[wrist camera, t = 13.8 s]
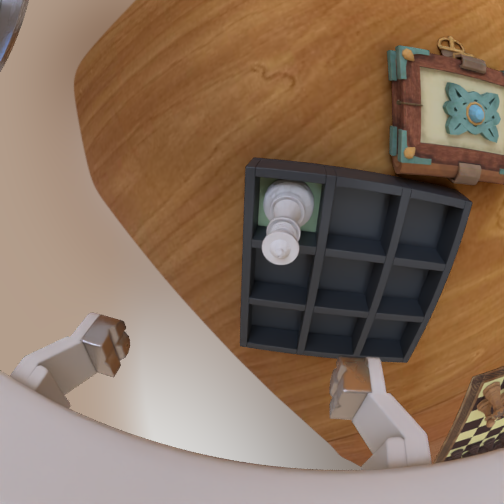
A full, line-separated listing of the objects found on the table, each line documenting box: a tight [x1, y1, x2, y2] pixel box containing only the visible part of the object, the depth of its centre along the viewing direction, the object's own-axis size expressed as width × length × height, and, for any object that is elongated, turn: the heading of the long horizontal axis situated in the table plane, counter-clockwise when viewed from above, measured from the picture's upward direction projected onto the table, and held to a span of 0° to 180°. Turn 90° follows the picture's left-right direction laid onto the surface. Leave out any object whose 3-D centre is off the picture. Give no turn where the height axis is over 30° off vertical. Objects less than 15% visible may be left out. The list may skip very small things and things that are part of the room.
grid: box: [240, 158, 472, 363], centre depth 28 cm, size 20×20×4 cm
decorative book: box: [387, 36, 504, 185], centre depth 18 cm, size 13×18×5 cm
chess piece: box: [262, 179, 314, 265], centre depth 23 cm, size 4×4×10 cm
